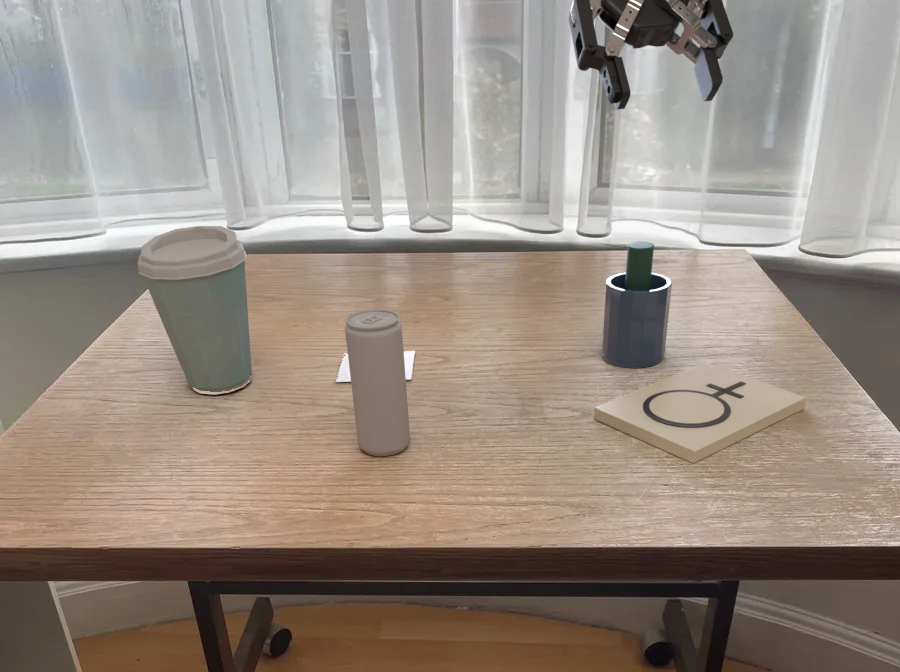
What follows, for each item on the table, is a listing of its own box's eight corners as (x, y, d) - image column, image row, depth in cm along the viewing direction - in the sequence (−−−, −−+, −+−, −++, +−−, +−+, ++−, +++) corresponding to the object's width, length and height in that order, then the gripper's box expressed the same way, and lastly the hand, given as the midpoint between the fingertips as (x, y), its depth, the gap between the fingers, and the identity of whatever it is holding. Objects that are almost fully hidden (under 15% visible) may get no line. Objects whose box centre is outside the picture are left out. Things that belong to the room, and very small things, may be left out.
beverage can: (421, 445, 83) (412, 316, 75) (382, 464, 80) (369, 332, 73) (387, 429, 86) (375, 304, 78) (347, 447, 83) (332, 319, 76)
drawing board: (703, 372, 93) (705, 359, 92) (804, 409, 85) (807, 395, 84) (593, 419, 85) (594, 405, 85) (693, 463, 78) (695, 449, 77)
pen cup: (630, 340, 101) (636, 267, 96) (676, 356, 97) (685, 281, 92) (588, 355, 98) (592, 281, 93) (634, 373, 94) (640, 296, 89)
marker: (631, 343, 99) (640, 239, 92) (649, 350, 97) (659, 244, 90) (615, 350, 97) (622, 245, 91) (632, 356, 96) (641, 250, 89)
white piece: (411, 379, 94) (410, 372, 94) (335, 382, 95) (334, 374, 94) (415, 350, 101) (414, 343, 100) (344, 353, 101) (343, 346, 101)
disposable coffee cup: (258, 404, 91) (229, 252, 82) (154, 407, 92) (115, 256, 83) (277, 363, 100) (254, 221, 91) (182, 366, 100) (149, 225, 91)
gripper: (564, -91, 78) (606, 75, 76) (715, -100, 80) (760, 61, 78) (543, -19, 85) (581, 134, 83) (682, -29, 88) (723, 120, 86)
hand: (668, 99), depth 81 cm, fingers open, 8 cm apart
